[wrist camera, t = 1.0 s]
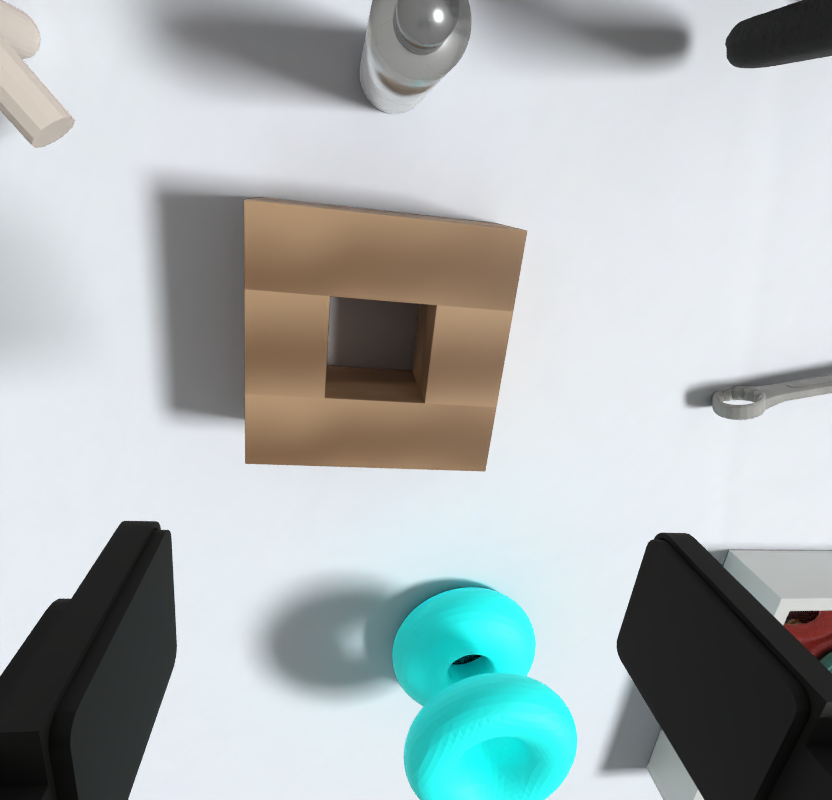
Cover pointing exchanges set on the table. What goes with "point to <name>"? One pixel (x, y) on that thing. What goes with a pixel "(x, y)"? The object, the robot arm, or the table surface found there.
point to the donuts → (479, 702)
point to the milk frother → (782, 35)
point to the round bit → (411, 49)
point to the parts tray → (779, 593)
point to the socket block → (370, 387)
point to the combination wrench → (767, 396)
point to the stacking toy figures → (815, 636)
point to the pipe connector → (26, 82)
